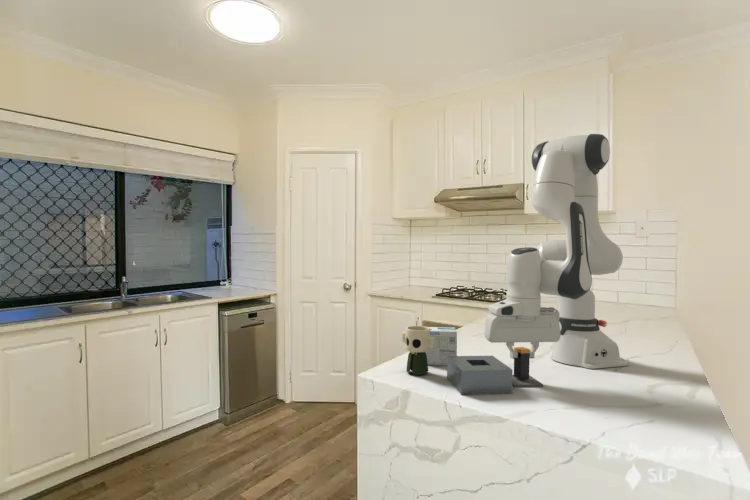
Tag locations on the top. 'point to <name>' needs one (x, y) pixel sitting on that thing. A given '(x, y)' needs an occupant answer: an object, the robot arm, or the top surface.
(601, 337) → the robot arm
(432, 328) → the light bulb box
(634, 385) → the top surface
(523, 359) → the block
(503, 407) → the top surface
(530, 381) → the mat
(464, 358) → the block
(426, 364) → the character mug
